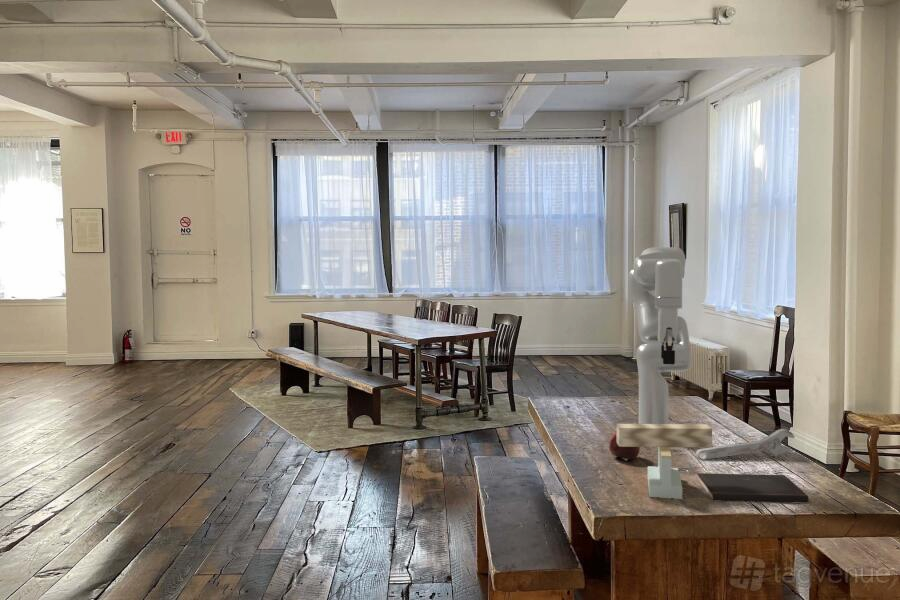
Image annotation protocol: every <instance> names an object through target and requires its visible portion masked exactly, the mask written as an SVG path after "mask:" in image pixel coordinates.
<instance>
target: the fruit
mask: <svg viewBox="0 0 900 600" xmlns="http://www.w3.org/2000/svg"><path fill="white" fill-rule="evenodd" d="M616 435H617V432H615V433H614V434H613V435H612V437H611V438H610V439H609V440H610V441H609V443H608V445H609V447H608V448H609V451H610V453H611V454H612V455H613V456H614V457H617V458H618V459H619V458H620V459H621V460H624V461H626V462H627V461H629V460H633V459H636V458H637V457H638V455H639V453H640V449H641V448H640V447H619V445H618V444H617V442H616Z"/></svg>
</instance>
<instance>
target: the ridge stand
mask: <svg viewBox="0 0 900 600" xmlns="http://www.w3.org/2000/svg"><path fill="white" fill-rule="evenodd" d="M657 448H658V449H657V450H658V451H657V457H658V459H657V466H651V465H649V466H647V483H648V495H649V498H657V497H659V499H671V498H674V499H673V500H683V485H682V484H683V483H682V480H681V476H680V472H679V471H680V470H679V467H672V454H671V447H657Z"/></svg>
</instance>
